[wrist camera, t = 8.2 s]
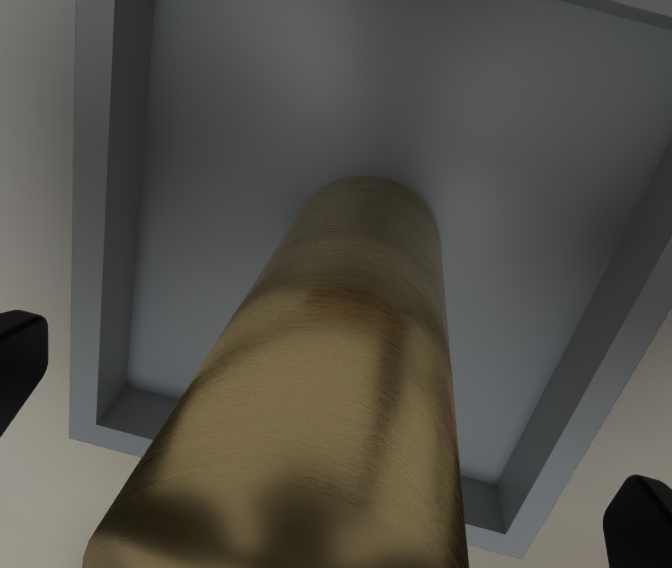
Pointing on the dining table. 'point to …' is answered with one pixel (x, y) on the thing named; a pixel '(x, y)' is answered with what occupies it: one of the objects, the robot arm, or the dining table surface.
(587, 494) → the dining table surface
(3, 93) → the dining table surface
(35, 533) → the dining table surface
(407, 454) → the pin
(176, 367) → the tray
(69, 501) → the dining table surface
